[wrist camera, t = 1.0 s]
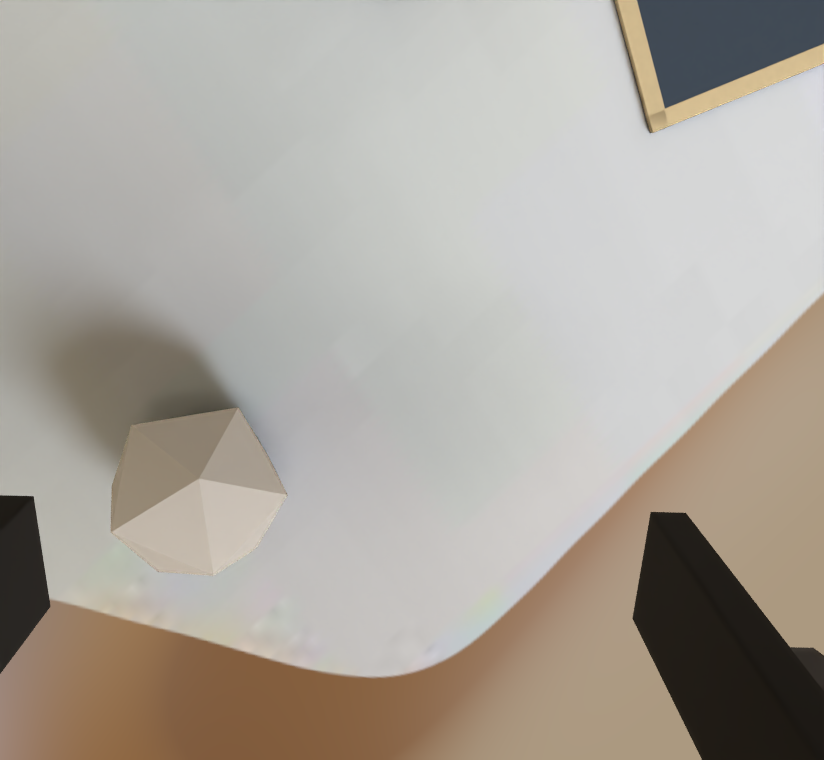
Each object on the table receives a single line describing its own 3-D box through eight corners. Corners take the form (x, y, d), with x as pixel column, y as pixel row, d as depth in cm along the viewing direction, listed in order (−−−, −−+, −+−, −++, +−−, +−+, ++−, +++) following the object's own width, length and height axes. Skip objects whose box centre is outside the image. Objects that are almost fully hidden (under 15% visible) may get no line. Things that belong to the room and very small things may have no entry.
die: (116, 476, 42) (132, 635, 36) (89, 377, 35) (104, 552, 29) (258, 449, 45) (295, 593, 39) (258, 354, 38) (303, 509, 32)
